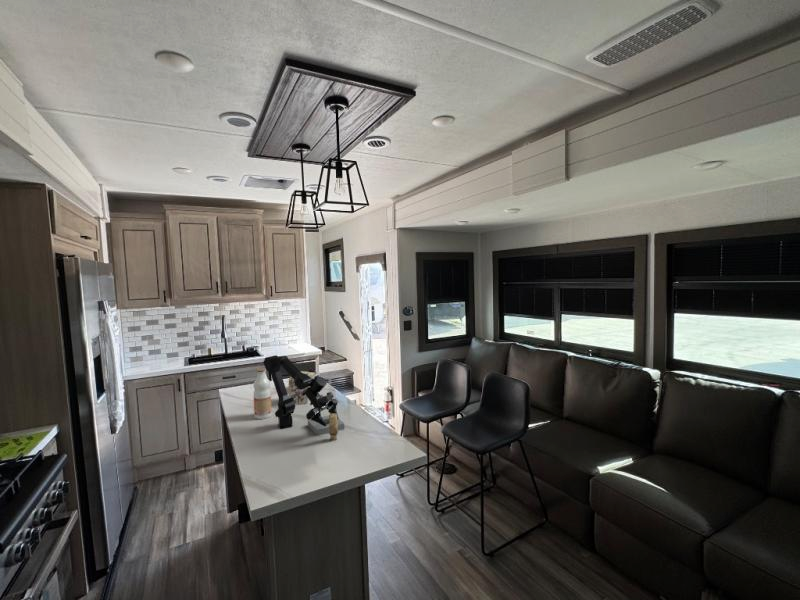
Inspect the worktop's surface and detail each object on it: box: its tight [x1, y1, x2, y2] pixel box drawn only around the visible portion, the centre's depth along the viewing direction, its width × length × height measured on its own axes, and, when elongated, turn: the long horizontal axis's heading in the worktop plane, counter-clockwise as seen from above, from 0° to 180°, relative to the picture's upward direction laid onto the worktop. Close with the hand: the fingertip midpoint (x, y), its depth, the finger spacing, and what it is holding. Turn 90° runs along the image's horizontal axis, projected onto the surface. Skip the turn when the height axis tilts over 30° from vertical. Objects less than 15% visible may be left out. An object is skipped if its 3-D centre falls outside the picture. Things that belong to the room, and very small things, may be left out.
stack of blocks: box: [300, 370, 317, 379], centre depth 268 cm, size 21×6×12 cm, turn 162°
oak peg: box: [328, 413, 339, 442], centre depth 185 cm, size 4×4×12 cm
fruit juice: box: [253, 367, 273, 420], centre depth 216 cm, size 9×9×28 cm
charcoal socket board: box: [307, 415, 345, 436], centre depth 200 cm, size 15×15×3 cm
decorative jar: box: [288, 376, 309, 405], centre depth 240 cm, size 12×12×18 cm
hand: (332, 422), depth 185 cm, fingers open, 9 cm apart
